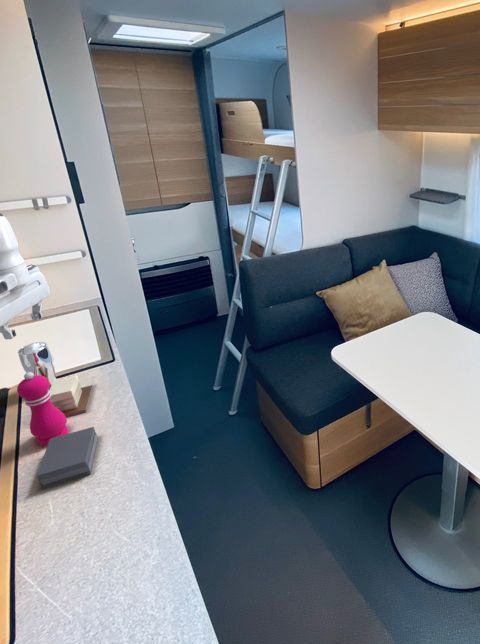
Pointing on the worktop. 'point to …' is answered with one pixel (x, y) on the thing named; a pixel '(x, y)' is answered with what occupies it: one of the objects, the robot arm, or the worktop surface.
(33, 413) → the pepper mill
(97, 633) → the worktop surface
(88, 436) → the grey pile
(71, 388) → the ivory book
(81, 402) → the ivory pile
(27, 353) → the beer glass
